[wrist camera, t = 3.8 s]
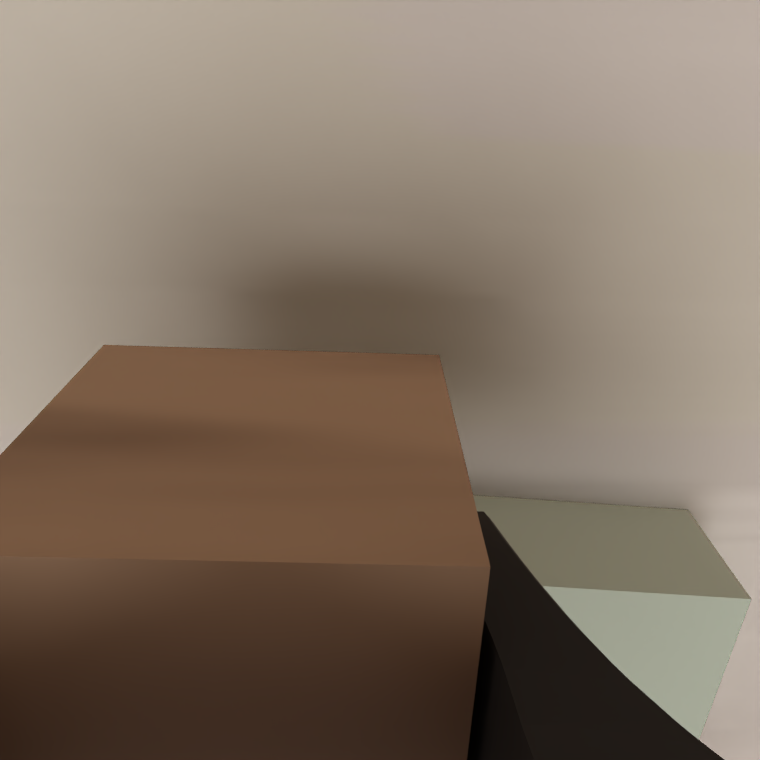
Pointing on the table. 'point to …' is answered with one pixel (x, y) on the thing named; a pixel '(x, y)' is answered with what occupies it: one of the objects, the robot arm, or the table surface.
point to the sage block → (635, 591)
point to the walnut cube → (240, 562)
